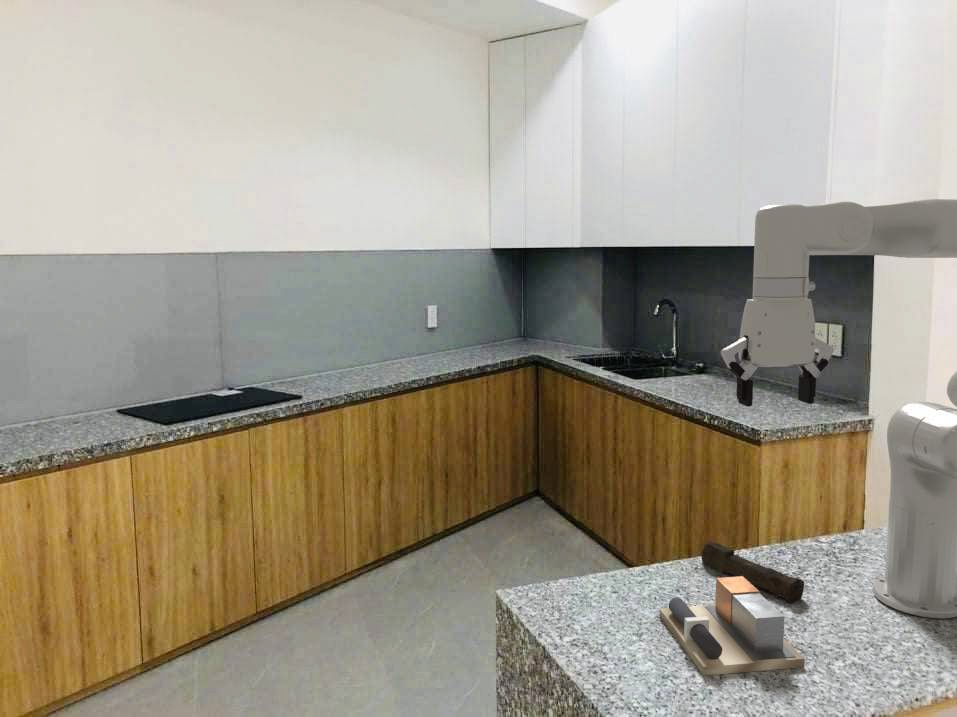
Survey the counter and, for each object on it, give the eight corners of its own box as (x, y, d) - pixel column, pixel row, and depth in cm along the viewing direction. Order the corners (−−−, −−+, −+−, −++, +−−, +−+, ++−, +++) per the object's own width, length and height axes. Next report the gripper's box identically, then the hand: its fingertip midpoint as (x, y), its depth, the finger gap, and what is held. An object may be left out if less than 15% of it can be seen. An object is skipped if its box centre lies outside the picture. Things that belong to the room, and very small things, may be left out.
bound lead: (686, 614, 108) (686, 593, 107) (724, 662, 95) (725, 638, 95) (665, 616, 108) (666, 595, 107) (701, 663, 95) (702, 640, 94)
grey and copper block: (741, 608, 108) (742, 576, 108) (783, 650, 96) (785, 614, 96) (715, 610, 108) (716, 578, 107) (754, 653, 96) (755, 617, 95)
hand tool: (805, 601, 114) (807, 573, 113) (789, 607, 112) (791, 579, 111) (712, 560, 130) (713, 535, 129) (696, 565, 128) (697, 540, 127)
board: (746, 609, 111) (746, 601, 110) (804, 667, 95) (804, 657, 95) (659, 616, 109) (659, 608, 109) (703, 675, 93) (703, 666, 93)
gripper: (820, 287, 110) (815, 396, 112) (712, 290, 108) (710, 401, 110) (850, 289, 103) (844, 406, 105) (736, 292, 101) (732, 410, 103)
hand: (775, 403), depth 108 cm, fingers open, 9 cm apart
